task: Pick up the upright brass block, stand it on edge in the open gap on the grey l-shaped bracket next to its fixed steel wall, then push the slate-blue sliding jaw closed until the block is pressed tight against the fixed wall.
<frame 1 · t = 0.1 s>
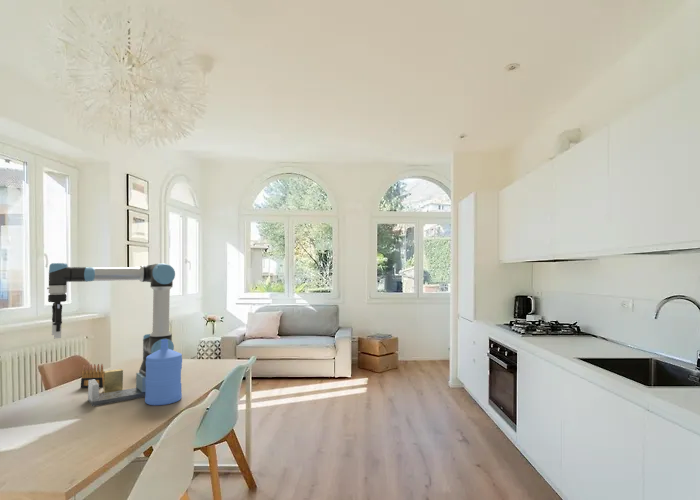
hand: (56, 336, 207), 28 cm above the table, fingers open, 13 cm apart
brass block: (112, 390, 210), on the table
water jug: (163, 401, 193), on the table
sliding jaw: (143, 380, 205), point 6 cm above the table, slide at 0.0 cm
grey l-shaped bracket: (119, 398, 198), on the table
ammunition clip: (92, 387, 216), on the table
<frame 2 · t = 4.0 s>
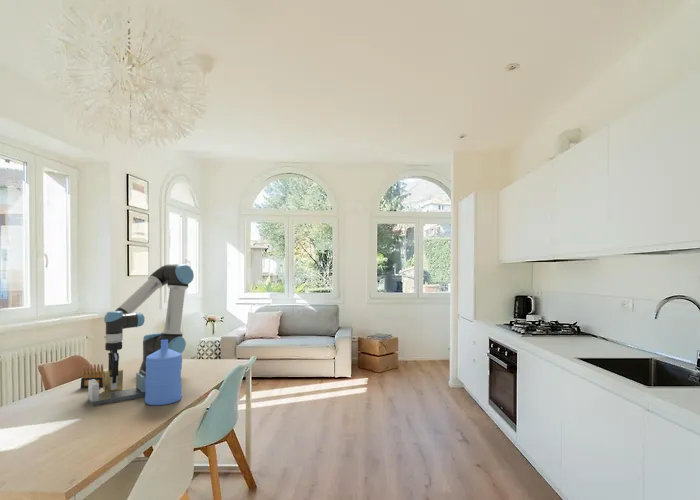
hand: (112, 388, 210), 1 cm above the table, fingers closed on brass block, 4 cm apart
brass block: (112, 390, 210), on the table, touching gripper
everything else where it was.
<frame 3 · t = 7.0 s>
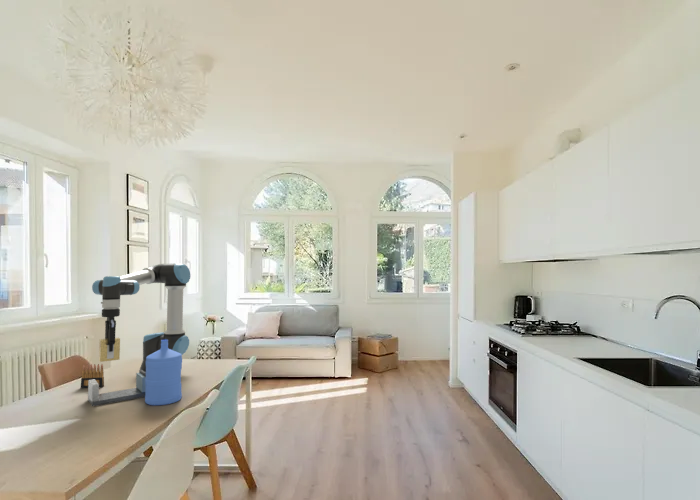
hand: (109, 357, 198), 19 cm above the table, fingers closed on brass block, 4 cm apart
brass block: (109, 360, 198), point 18 cm above the table, touching gripper
everything else where it was.
when the fingers open (4 cm above the table, at t = 10.3 s): brass block stays where it is, resting on grey l-shaped bracket.
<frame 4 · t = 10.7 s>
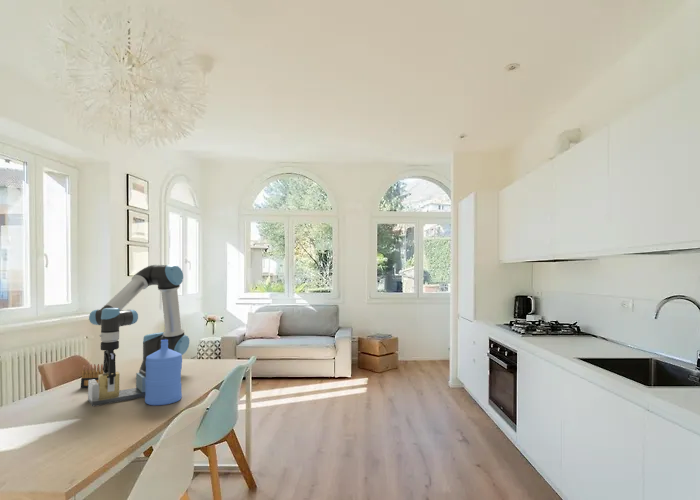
hand: (108, 388, 195), 5 cm above the table, fingers open, 9 cm apart
brass block: (108, 395, 195), point 2 cm above the table, touching grey l-shaped bracket
everything else where it was.
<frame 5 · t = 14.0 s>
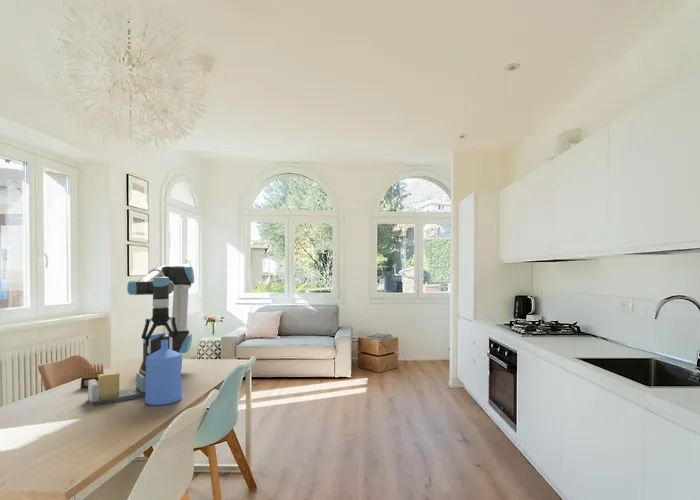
hand: (160, 351, 210), 20 cm above the table, fingers open, 10 cm apart
nothing on the table moved.
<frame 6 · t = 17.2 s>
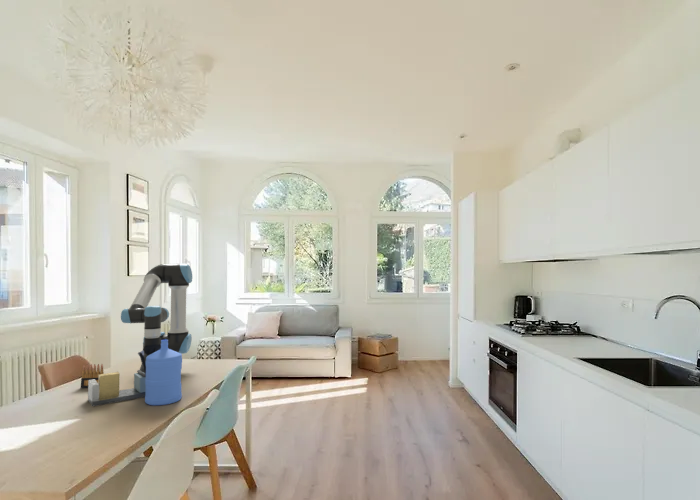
hand: (151, 384, 207), 4 cm above the table, fingers closed
sliding jaw: (141, 380, 204), point 7 cm above the table, slide at 1.0 cm, touching gripper
everything else where it was.
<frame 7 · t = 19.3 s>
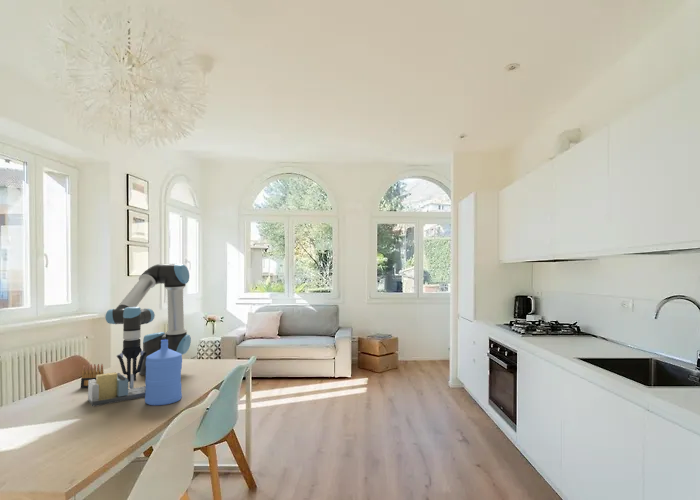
hand: (131, 388, 201), 4 cm above the table, fingers closed
brass block: (106, 396, 194), point 2 cm above the table, touching sliding jaw, grey l-shaped bracket
sliding jaw: (120, 384, 198), point 7 cm above the table, slide at 10.0 cm, touching brass block, gripper
everything else where it was.
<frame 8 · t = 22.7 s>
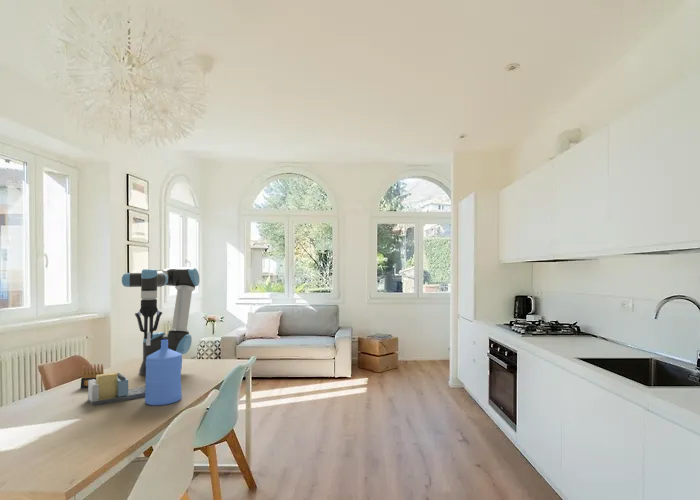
hand: (148, 345, 213), 22 cm above the table, fingers closed
sliding jaw: (120, 383, 198), point 6 cm above the table, slide at 10.0 cm, touching brass block
everything else where it was.
at the end: sliding jaw slide at 10.0 cm; brass block 0.8 cm from the target spot on the grey l-shaped bracket, point 2.0 cm above the grey l-shaped bracket's base; brass block tilted 0° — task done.
